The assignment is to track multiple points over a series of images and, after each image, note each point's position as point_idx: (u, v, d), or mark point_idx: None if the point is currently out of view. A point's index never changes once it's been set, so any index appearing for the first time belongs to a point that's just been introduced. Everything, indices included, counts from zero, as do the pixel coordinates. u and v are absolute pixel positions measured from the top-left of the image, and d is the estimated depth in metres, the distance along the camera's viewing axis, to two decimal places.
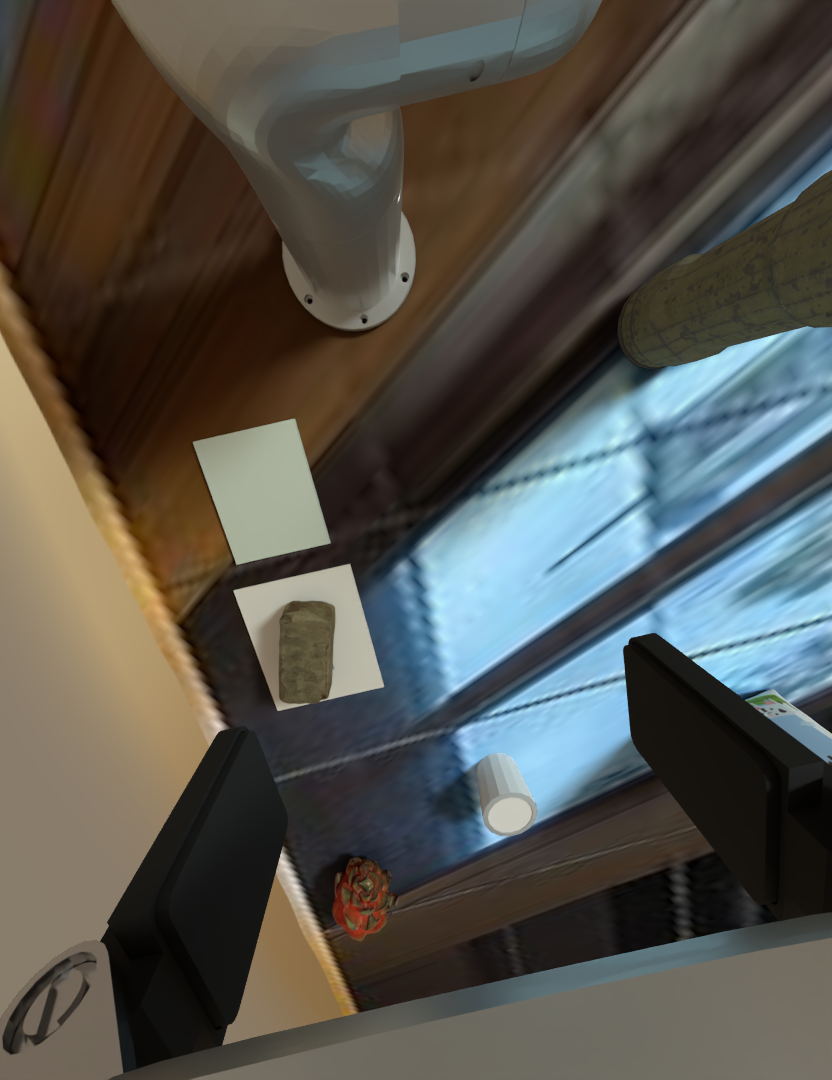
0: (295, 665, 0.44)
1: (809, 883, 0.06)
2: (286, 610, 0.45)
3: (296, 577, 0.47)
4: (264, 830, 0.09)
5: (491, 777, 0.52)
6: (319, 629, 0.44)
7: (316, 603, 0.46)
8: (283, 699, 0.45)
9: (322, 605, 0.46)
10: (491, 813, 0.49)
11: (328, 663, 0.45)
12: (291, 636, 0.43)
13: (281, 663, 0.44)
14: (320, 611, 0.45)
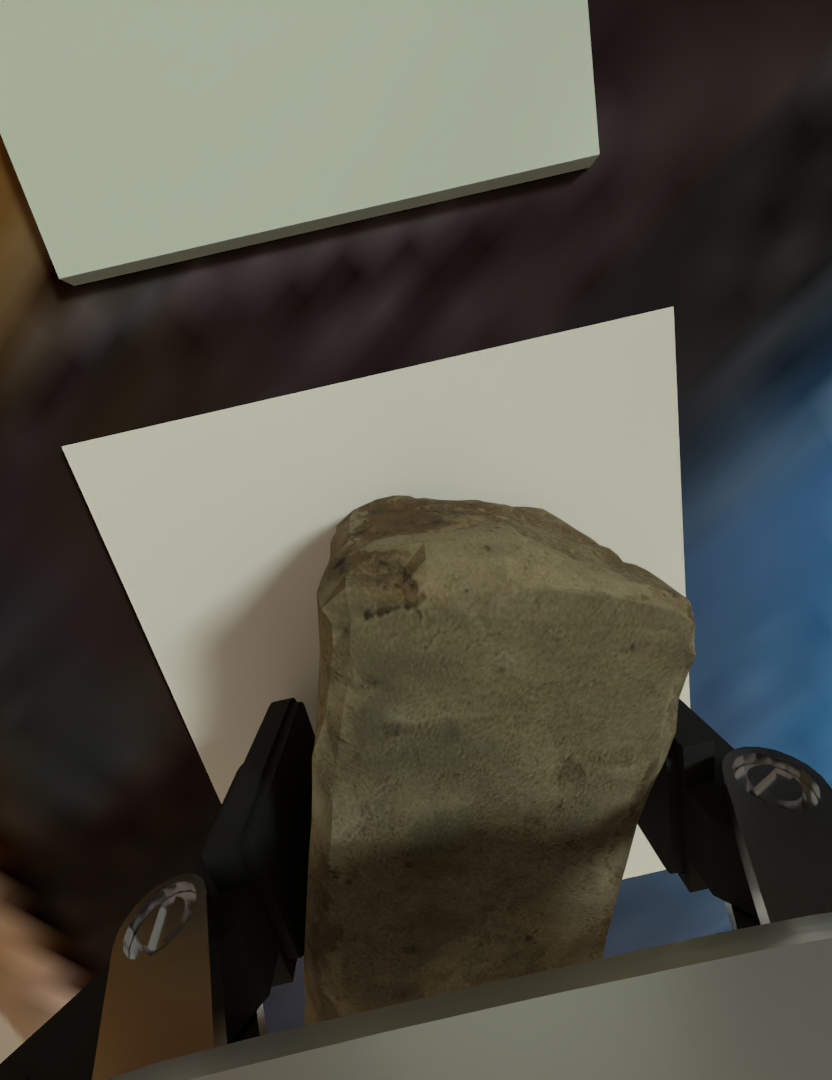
0: (421, 905, 0.06)
1: (703, 850, 0.06)
2: (355, 532, 0.07)
3: (392, 377, 0.09)
4: None
5: None
6: (621, 660, 0.06)
7: (509, 506, 0.08)
8: None
9: (541, 520, 0.08)
10: None
11: None
12: (413, 721, 0.06)
13: (326, 892, 0.06)
14: (561, 540, 0.07)
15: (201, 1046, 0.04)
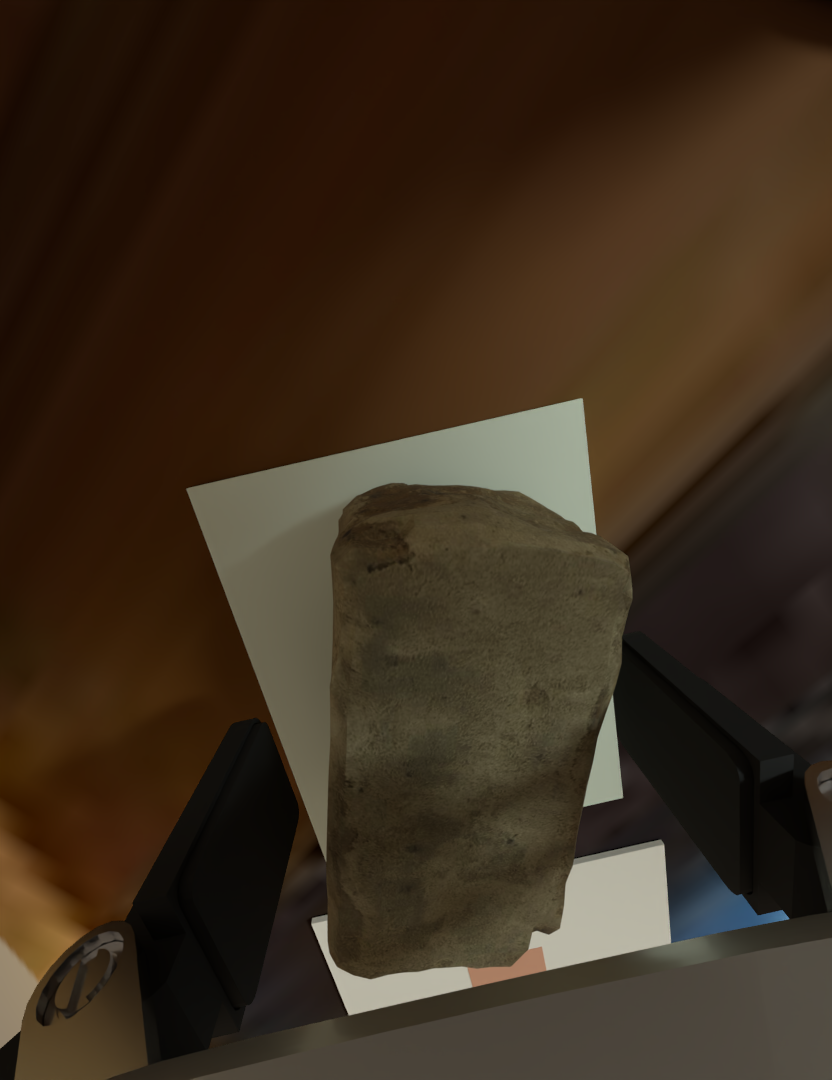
0: (420, 810, 0.08)
1: (780, 872, 0.06)
2: (359, 511, 0.08)
3: None
4: (277, 819, 0.09)
5: None
6: (572, 603, 0.07)
7: (488, 489, 0.10)
8: (351, 965, 0.09)
9: (515, 501, 0.10)
10: None
11: None
12: (408, 653, 0.07)
13: (343, 800, 0.08)
14: (528, 514, 0.09)
15: None
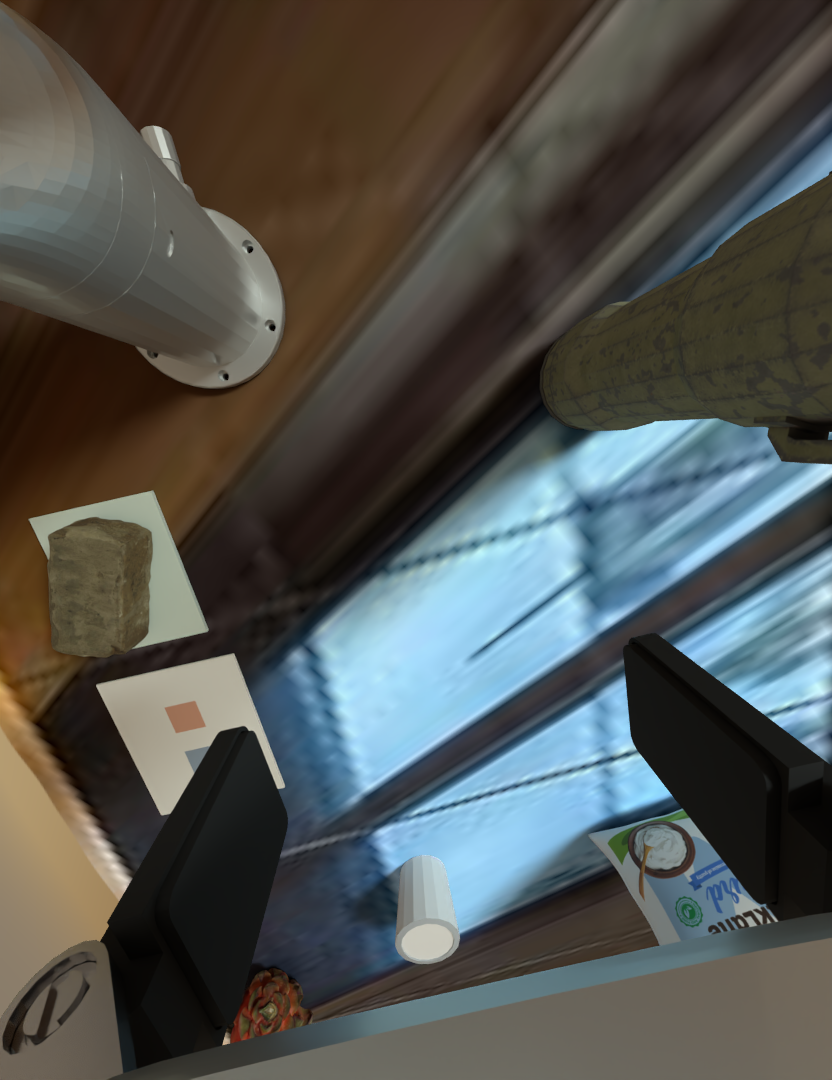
0: (70, 600, 0.32)
1: (809, 883, 0.06)
2: None
3: (170, 669, 0.40)
4: (264, 830, 0.09)
5: (410, 892, 0.44)
6: (106, 552, 0.32)
7: (120, 522, 0.34)
8: (56, 647, 0.33)
9: (128, 526, 0.34)
10: (405, 940, 0.42)
11: (121, 603, 0.33)
12: (64, 558, 0.31)
13: (51, 595, 0.32)
14: (118, 531, 0.33)
15: None
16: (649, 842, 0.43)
